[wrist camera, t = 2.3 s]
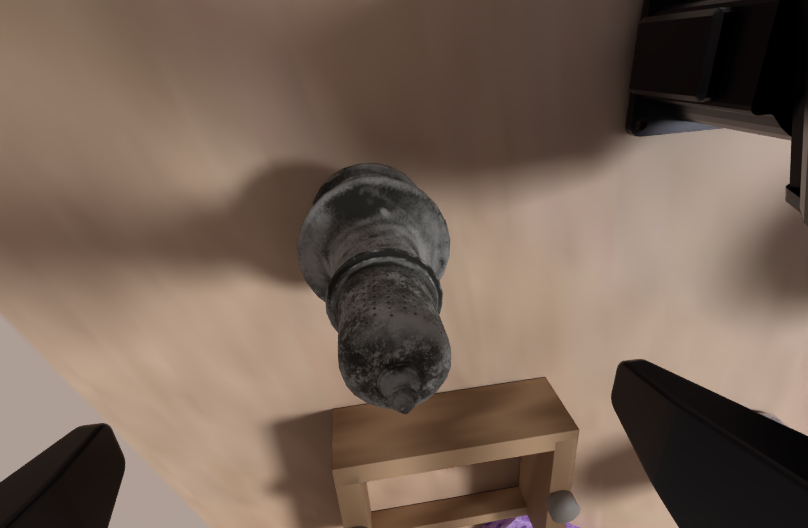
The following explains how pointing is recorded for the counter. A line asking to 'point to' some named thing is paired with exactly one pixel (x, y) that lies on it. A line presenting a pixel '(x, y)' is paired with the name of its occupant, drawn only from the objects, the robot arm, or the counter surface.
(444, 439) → the holder
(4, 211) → the counter surface
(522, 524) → the sponges
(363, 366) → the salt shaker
